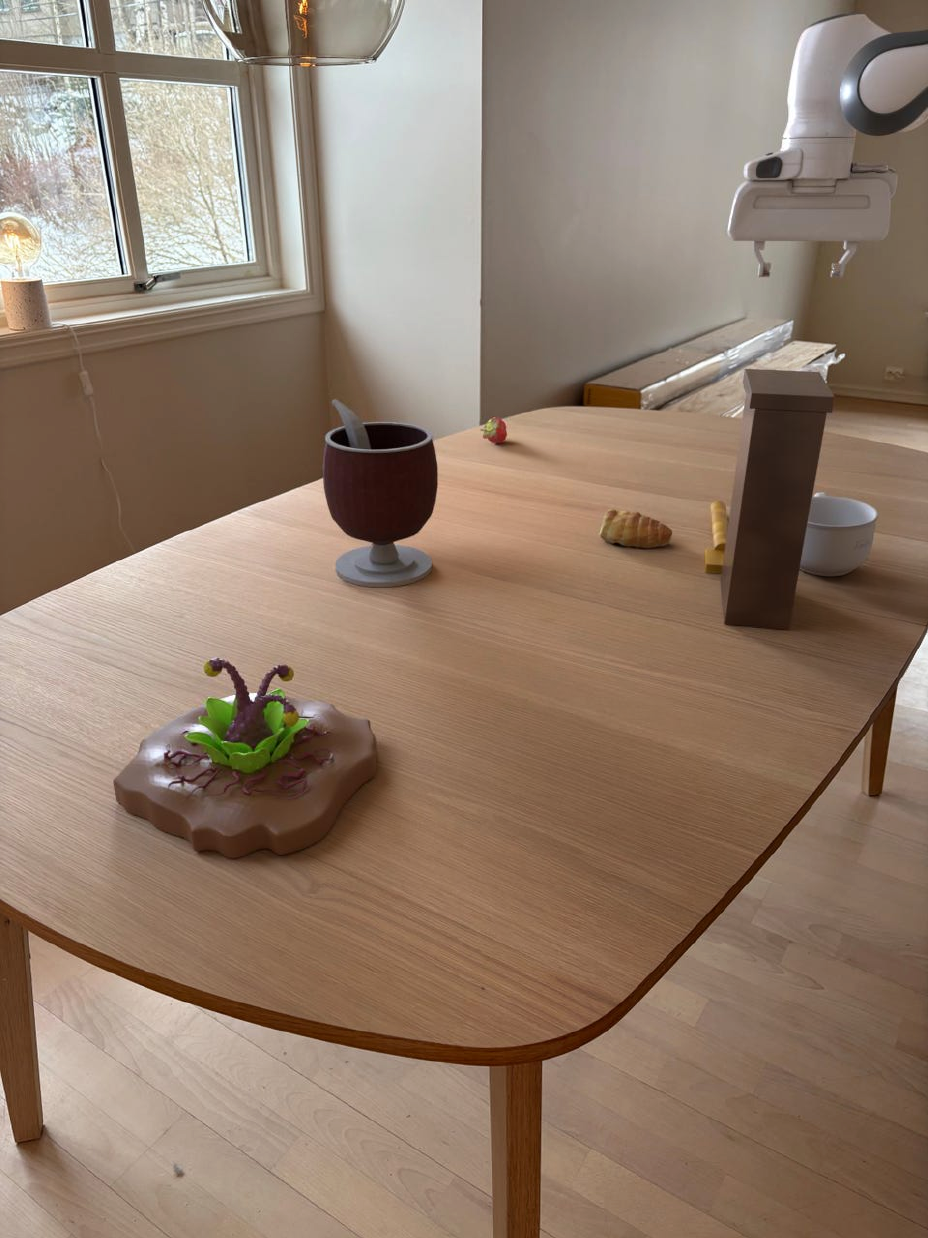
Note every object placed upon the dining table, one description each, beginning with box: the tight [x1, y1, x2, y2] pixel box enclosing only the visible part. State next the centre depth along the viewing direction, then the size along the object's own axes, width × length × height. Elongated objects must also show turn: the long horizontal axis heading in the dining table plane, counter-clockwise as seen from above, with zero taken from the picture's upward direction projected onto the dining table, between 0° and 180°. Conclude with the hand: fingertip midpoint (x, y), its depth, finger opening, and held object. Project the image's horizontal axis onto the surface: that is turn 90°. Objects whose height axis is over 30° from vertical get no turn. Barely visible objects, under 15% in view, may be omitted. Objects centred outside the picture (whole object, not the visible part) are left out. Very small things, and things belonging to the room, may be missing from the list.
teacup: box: [799, 492, 879, 577], centre depth 121 cm, size 14×11×8 cm
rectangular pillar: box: [720, 368, 836, 631], centre depth 106 cm, size 8×12×26 cm, turn 168°
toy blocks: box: [703, 500, 729, 575], centre depth 129 cm, size 4×22×2 cm, turn 169°
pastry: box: [598, 508, 673, 549], centre depth 129 cm, size 9×7×4 cm
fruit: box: [479, 416, 508, 444], centre depth 171 cm, size 4×6×5 cm
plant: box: [113, 657, 378, 859], centre depth 78 cm, size 20×20×11 cm
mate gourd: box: [321, 398, 439, 588], centre depth 117 cm, size 16×14×20 cm
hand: (799, 277), depth 128 cm, fingers open, 8 cm apart
